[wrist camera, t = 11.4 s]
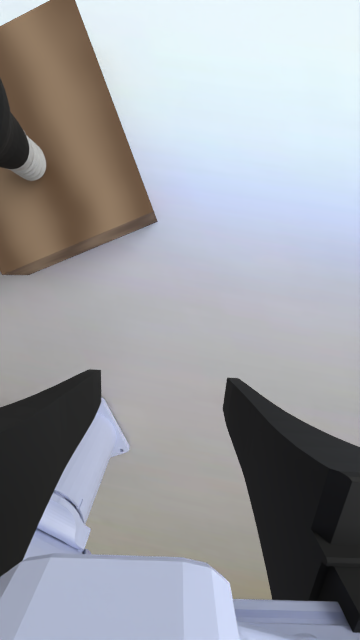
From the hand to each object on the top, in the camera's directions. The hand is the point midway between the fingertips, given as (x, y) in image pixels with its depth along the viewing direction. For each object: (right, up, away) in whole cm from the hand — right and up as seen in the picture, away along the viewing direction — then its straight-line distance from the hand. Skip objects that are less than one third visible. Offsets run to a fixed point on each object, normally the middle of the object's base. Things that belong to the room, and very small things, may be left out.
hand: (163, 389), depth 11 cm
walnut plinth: (-10, +17, +7) cm, 21 cm away
